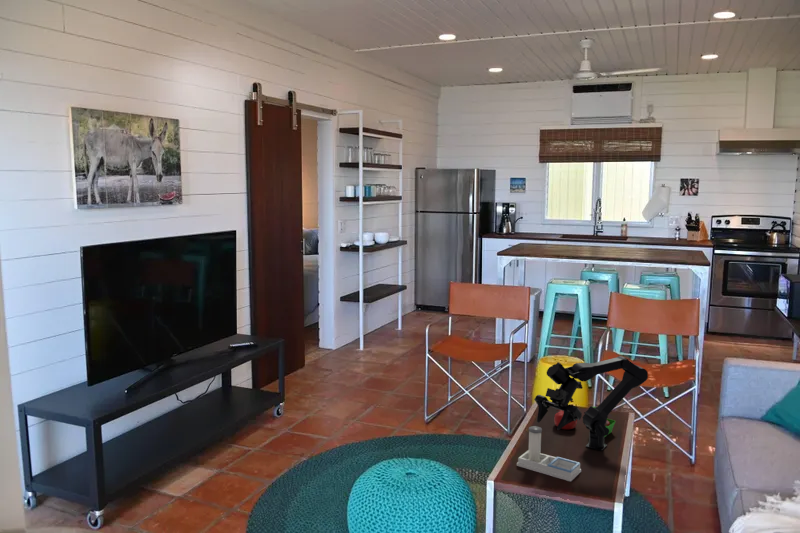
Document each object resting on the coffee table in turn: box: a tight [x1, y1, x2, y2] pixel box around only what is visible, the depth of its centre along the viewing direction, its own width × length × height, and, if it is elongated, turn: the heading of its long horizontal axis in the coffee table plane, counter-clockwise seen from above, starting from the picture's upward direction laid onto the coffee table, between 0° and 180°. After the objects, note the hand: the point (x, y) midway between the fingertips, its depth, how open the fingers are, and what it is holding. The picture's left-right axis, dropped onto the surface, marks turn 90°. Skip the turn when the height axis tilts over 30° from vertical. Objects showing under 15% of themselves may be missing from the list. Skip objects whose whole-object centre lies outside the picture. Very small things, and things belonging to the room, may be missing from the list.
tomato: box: [553, 409, 578, 430], centre depth 273 cm, size 10×10×9 cm
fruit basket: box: [592, 406, 616, 438], centre depth 266 cm, size 11×9×11 cm
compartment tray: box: [516, 449, 582, 482], centre depth 234 cm, size 10×21×4 cm, turn 53°
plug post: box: [528, 425, 543, 463], centre depth 237 cm, size 5×5×13 cm
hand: (547, 425), depth 241 cm, fingers open, 9 cm apart
